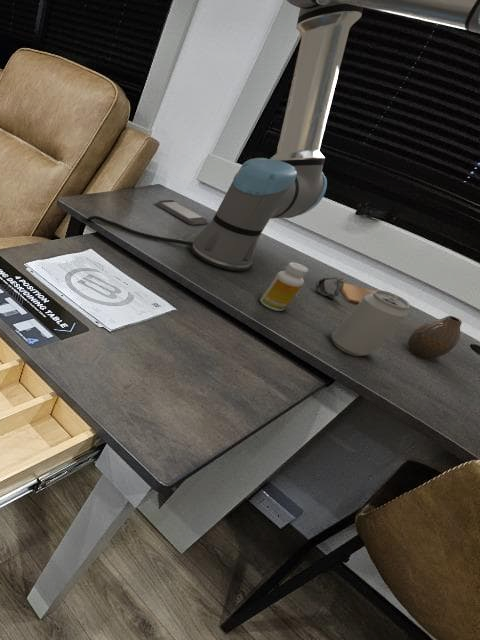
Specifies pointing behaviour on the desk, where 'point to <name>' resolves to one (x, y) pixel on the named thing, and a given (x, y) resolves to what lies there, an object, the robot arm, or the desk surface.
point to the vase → (435, 337)
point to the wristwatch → (321, 287)
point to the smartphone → (182, 212)
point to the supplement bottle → (284, 287)
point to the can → (370, 322)
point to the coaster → (355, 293)
